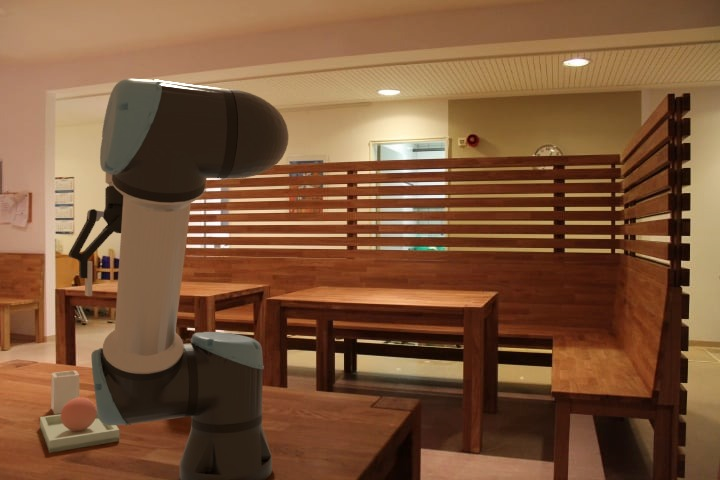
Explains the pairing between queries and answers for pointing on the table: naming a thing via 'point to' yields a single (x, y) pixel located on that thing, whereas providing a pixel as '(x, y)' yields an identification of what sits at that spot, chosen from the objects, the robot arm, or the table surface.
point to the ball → (78, 414)
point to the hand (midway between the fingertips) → (125, 294)
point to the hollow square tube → (63, 389)
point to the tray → (75, 434)
